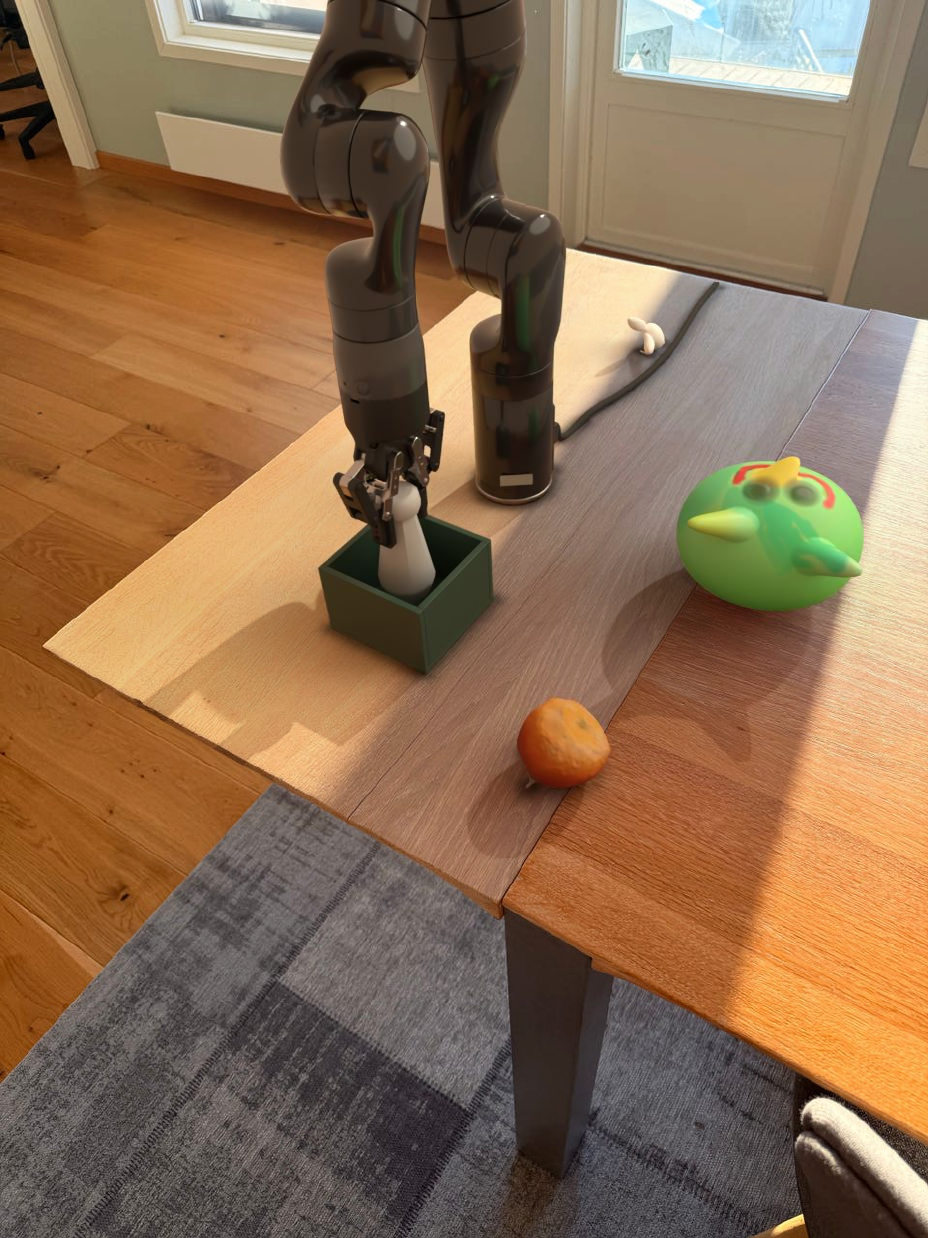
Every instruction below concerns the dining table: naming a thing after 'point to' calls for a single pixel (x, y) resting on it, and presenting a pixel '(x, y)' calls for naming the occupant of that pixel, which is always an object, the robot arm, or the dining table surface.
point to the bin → (397, 624)
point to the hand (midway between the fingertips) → (401, 529)
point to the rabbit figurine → (648, 334)
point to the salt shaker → (406, 550)
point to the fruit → (562, 744)
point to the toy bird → (770, 535)
